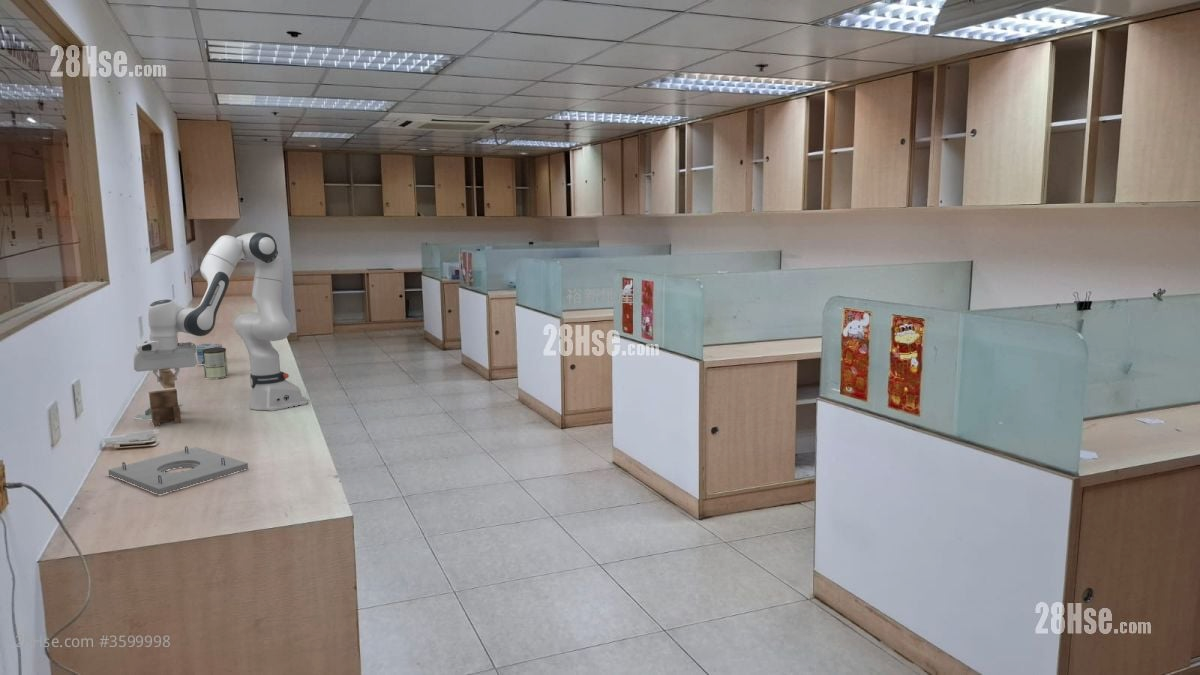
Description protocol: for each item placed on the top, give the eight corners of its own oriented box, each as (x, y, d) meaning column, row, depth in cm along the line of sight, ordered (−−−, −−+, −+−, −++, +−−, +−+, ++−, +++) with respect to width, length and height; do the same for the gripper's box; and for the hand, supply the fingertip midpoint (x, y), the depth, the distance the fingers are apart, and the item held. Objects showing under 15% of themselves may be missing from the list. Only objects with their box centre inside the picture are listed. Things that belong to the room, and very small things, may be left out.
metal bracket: (154, 397, 302) (187, 399, 300) (159, 410, 305) (191, 411, 302) (129, 416, 290) (163, 418, 287) (133, 429, 292) (167, 431, 290)
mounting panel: (195, 440, 249) (247, 455, 233) (196, 454, 250) (248, 471, 234) (107, 462, 227) (158, 481, 211) (109, 477, 228) (159, 498, 212)
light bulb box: (197, 365, 395) (195, 345, 393) (206, 363, 401) (204, 343, 399) (215, 366, 393) (214, 346, 391) (224, 363, 399) (222, 344, 398)
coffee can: (200, 378, 364) (198, 349, 362) (221, 374, 373) (219, 346, 370) (211, 380, 359) (208, 351, 356) (232, 377, 367) (230, 348, 364)
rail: (170, 381, 284) (169, 366, 283) (174, 387, 274) (173, 372, 273) (160, 382, 282) (158, 367, 281) (164, 388, 272) (163, 373, 271)
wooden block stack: (178, 418, 292) (175, 388, 290) (181, 423, 286) (178, 392, 284) (151, 422, 287) (148, 391, 285) (154, 427, 280) (150, 396, 278)
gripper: (194, 340, 284) (197, 376, 286) (131, 345, 272) (134, 382, 274) (197, 342, 279) (199, 379, 281) (133, 347, 267) (136, 385, 269)
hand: (167, 380), depth 277 cm, fingers closed on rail, 3 cm apart
